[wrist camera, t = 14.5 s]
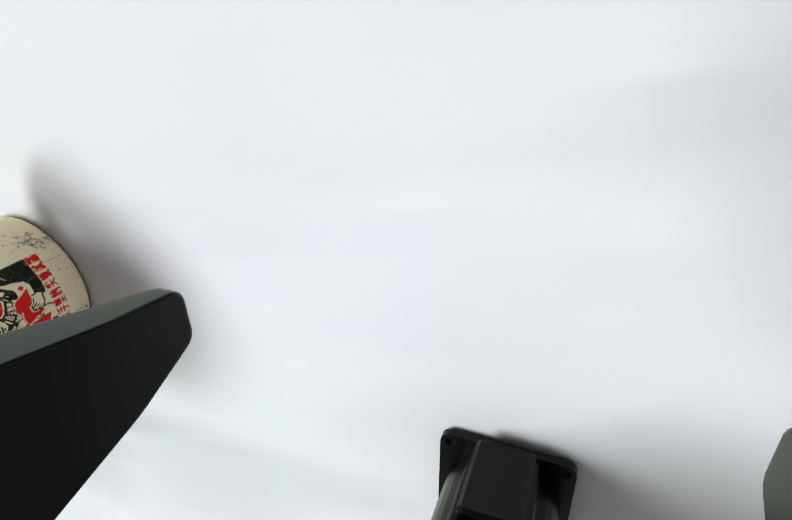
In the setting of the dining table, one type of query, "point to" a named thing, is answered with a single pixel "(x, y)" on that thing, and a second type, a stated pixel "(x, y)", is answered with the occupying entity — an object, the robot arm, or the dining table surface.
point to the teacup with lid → (35, 277)
